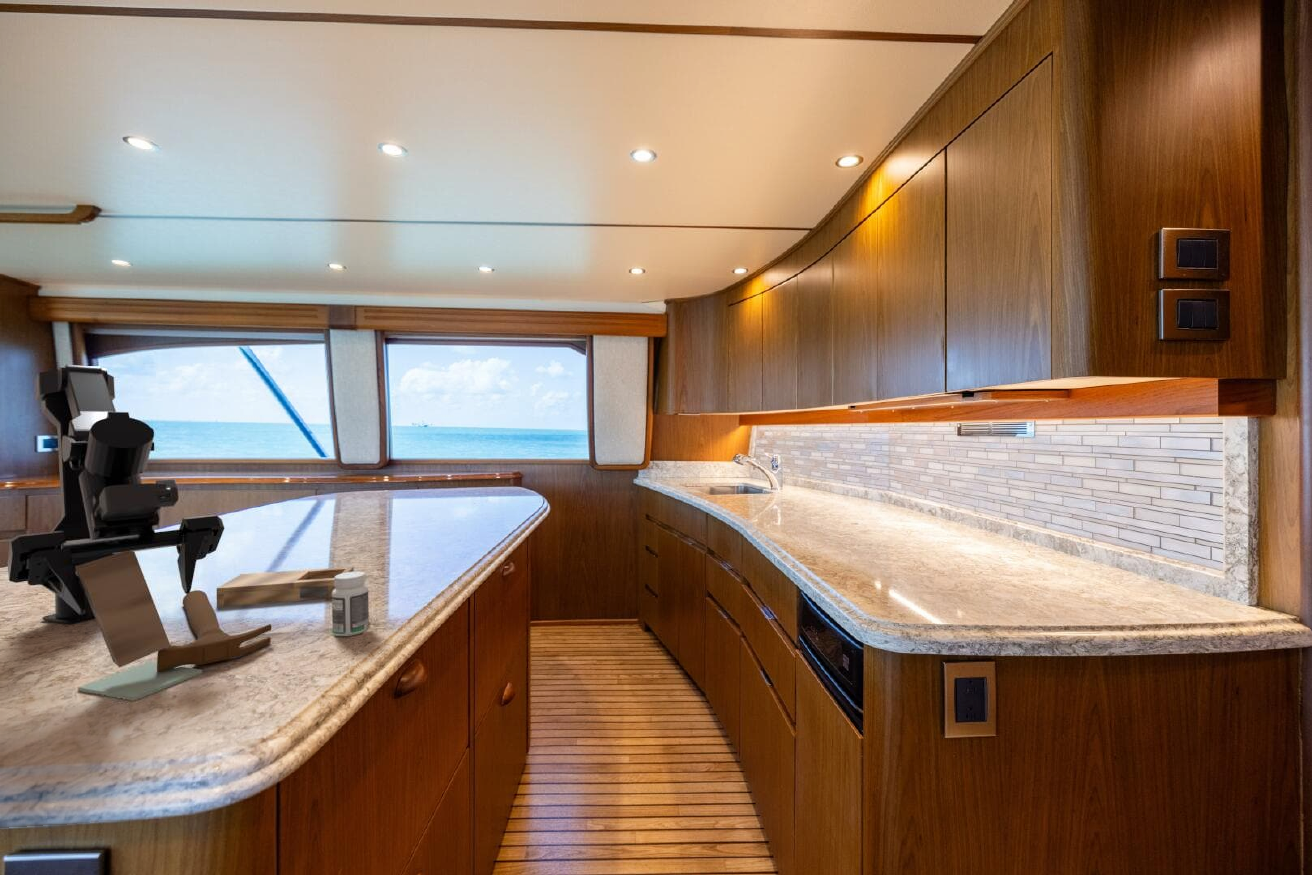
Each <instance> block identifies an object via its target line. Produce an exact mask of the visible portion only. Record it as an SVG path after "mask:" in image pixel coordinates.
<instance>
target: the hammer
mask: <svg viewBox="0 0 1312 875" xmlns="http://www.w3.org/2000/svg"><path fill="white" fill-rule="evenodd" d="M182 605H183V608H184V609H185V613H186V616H187V619H188V623H189V625H190V626H191V629H192V631H193V632H194V633H195V635H196V638H197V640H194V641H192V642H190V643H187V644H181V645H170V646H169V647H166V648H164V649H162V650H159V651H157V660H156V663H157V672H161V671H166V670H170V669H173V668H175V667H178V666H180V667H183V666H187V665H188V666H189V665H192V666H193V665H194V666H197V665H198V666H200V665H207V664H211V663H217V662H221V661H226V660H230V659H235V658H239V657H242V656H245V655H248V654H250V653H253V652H255V651H257V650H259V649H261V648H264V647H266V646H267V645H269V643H270V644H271V642H272V641H271V640H272V637H270V636H268V637H266V638H263V639H261V640H257V641H254V642H252V643H248V644H246V645H243V646H241V644H243V643H245V642H247V641H250V640H252V639H255V638H258V637H259V636H261V635H263V634H266V633H268V632H270V631H272V624H271V623H269V624H267V625H264V626H261V627H259V628H257V629H253V630H250V631H247V632H244V633H241V634H233V635H230V634H229V633H227V632H224V631H223V630H222V629H221V627H220V624H219V621H218V617H217V614H216V611H215V609H214V607H213V606H212V604H211V603H210V600H209V598H208V595H207V594H206V592H205V591H203V590H199V589H198V590H192V591H191V590H190V593H188V594H185V595H184V596H183V598H182Z"/></svg>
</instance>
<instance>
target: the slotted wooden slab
mask: <svg viewBox="0 0 1312 875" xmlns="http://www.w3.org/2000/svg"><path fill="white" fill-rule="evenodd" d="M354 569H355V567H354V566H345V567H332V568H331V567H329V568H316V569H301V570H297V569H296V570H284V571H269V572H255V573H254V572H252V573H240V574H239V575H238V576H236V577H233V579H231V580H229V581H227V582H225V583H224V584H222V585H220V586H219V587H216V607H217V608H221V607H231V606H233V607H234V606H235V607H236V606H246V605H257V604H259V605H260V604H270V603H284V602H295V601H296V602H297V601H307V600H320V599H332V592H333V590H334V589H336V587H335V585H334V578H335V576H336V575H339V574H342V573H347V572H355V570H354Z"/></svg>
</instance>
